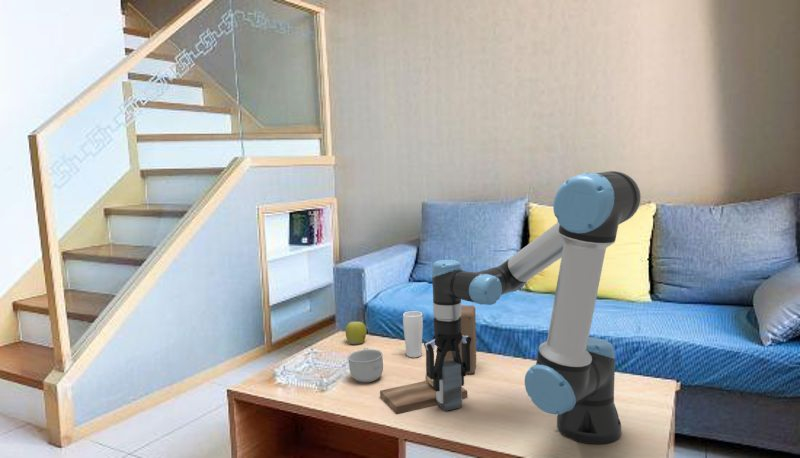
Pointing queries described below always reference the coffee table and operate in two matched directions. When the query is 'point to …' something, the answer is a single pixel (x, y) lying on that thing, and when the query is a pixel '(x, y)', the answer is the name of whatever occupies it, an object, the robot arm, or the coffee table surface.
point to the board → (411, 397)
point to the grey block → (450, 385)
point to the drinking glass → (413, 333)
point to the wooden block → (467, 329)
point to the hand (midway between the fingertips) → (449, 399)
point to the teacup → (366, 365)
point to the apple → (356, 332)
